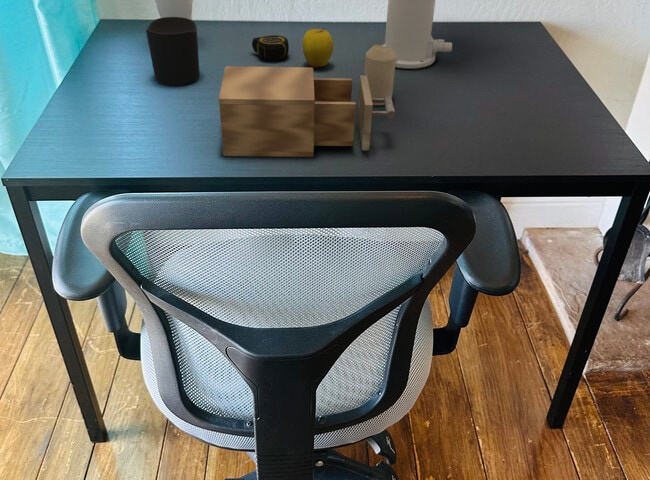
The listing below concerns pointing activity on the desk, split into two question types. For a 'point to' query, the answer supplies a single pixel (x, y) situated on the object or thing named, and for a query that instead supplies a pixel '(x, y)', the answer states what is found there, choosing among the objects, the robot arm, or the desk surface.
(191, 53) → the pen holder
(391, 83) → the candle
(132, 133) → the desk surface
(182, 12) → the cup
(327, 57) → the apple
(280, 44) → the tape measure
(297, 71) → the cabinet
